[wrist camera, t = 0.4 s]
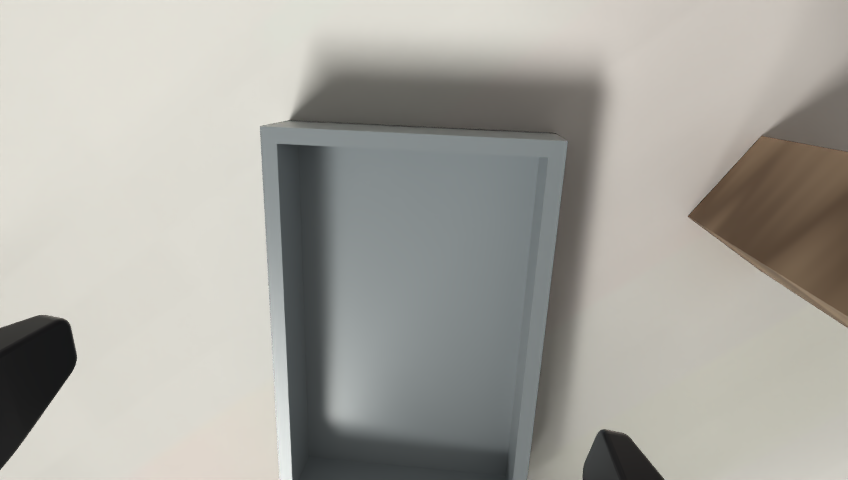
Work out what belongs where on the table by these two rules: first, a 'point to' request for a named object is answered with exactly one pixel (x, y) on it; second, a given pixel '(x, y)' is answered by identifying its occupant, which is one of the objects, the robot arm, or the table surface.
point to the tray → (408, 296)
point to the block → (787, 218)
